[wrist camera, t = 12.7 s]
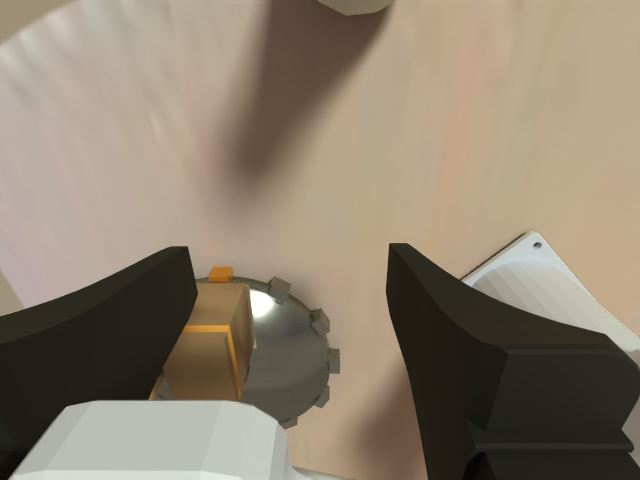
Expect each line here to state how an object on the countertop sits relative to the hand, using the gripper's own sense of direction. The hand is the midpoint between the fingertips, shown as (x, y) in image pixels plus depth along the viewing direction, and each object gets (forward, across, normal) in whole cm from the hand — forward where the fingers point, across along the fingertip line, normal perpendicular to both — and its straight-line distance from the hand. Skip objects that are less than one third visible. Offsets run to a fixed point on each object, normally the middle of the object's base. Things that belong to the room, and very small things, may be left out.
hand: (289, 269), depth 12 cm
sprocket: (+9, +6, +13) cm, 17 cm away
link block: (+7, +6, +8) cm, 12 cm away
